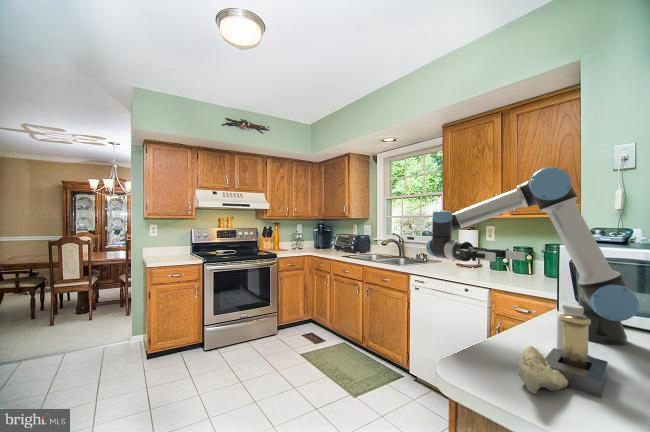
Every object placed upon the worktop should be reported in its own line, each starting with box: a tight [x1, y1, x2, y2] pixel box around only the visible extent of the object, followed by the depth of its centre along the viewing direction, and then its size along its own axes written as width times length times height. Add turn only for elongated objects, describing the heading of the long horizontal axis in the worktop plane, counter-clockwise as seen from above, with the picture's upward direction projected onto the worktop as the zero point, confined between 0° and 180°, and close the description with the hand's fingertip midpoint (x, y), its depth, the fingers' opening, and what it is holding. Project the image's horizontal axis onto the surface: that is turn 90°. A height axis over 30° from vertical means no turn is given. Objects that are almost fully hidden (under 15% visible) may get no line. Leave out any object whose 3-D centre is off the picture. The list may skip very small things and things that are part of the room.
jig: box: [544, 347, 609, 399], centre depth 84 cm, size 16×12×4 cm
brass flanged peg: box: [560, 314, 591, 370], centre depth 84 cm, size 6×6×16 cm
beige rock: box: [516, 345, 568, 395], centre depth 78 cm, size 15×7×15 cm
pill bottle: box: [556, 303, 589, 356], centre depth 101 cm, size 8×8×15 cm
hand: (510, 256), depth 102 cm, fingers open, 13 cm apart
